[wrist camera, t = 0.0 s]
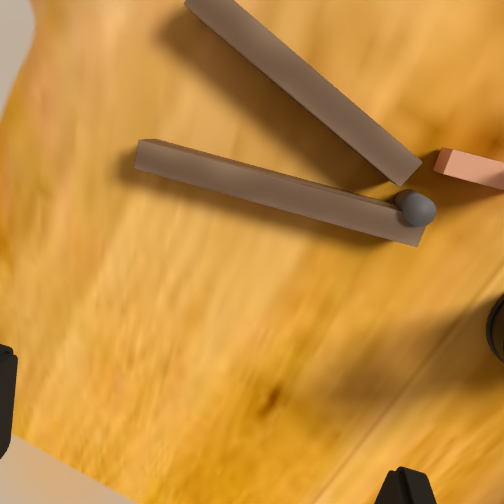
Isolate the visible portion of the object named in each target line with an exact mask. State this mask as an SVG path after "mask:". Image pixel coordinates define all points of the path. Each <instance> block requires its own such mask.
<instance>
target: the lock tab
mask: <svg viewBox="0 0 504 504" xmlns="http://www.w3.org/2000/svg"><path fill="white" fill-rule="evenodd" d="M433 171H436V172H439V173H442V174H445V175H449V176H452V177H456V178H460V179H464V180H467V181H471V182H475V183H479V184H482V185H486V186H490V187H494V188H497V189H501V190H504V163H503V162H499V161H495V160H491V159H488V158H484V157H480V156H476V155H472V154H469V153H465V152H461V151H457V150H454V149H447V148H441V151H440V153H439V156H438V158H437V161H436V164H435V166H434V169H433Z"/></svg>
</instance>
